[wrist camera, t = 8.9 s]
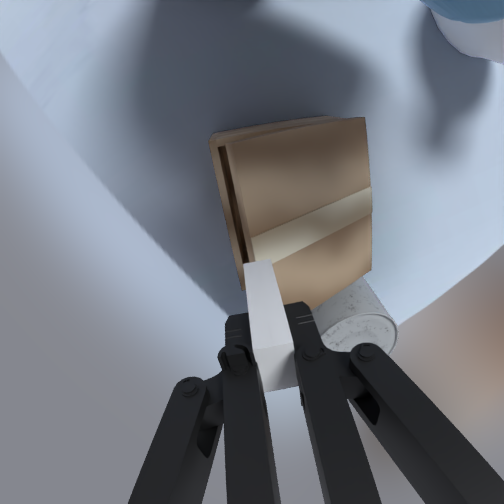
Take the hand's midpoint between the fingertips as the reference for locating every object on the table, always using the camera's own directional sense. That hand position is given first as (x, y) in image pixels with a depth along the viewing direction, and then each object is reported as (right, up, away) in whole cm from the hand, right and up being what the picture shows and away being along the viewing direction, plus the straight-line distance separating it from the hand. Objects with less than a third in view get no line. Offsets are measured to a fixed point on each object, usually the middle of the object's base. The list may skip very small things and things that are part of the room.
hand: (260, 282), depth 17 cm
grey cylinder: (+9, -2, +22) cm, 24 cm away
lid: (+4, +4, +6) cm, 9 cm away
